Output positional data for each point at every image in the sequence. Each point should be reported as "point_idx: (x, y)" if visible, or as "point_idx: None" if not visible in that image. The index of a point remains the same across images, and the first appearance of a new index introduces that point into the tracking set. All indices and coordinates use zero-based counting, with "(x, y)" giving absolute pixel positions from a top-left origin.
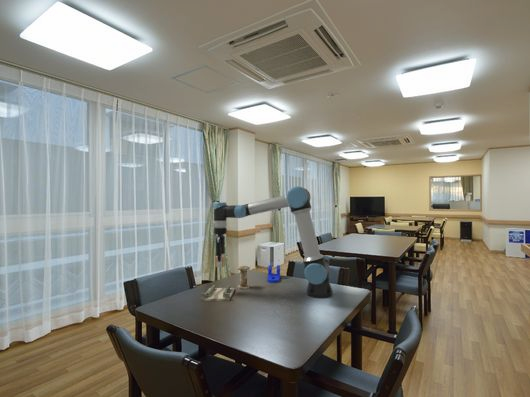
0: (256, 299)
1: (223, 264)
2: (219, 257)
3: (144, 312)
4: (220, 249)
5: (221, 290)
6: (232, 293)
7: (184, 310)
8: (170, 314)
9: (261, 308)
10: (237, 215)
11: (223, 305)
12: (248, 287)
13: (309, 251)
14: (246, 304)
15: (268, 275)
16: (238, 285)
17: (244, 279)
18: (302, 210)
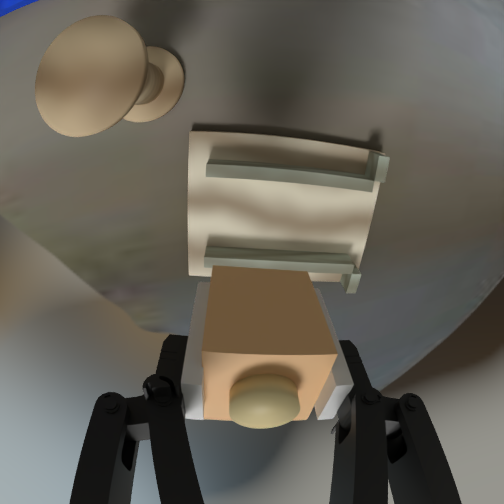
0: (370, 20)
1: (309, 286)
2: (364, 382)
3: (395, 379)
4: (435, 462)
5: (239, 206)
6: (284, 136)
7: (424, 303)
8: (435, 326)
9: (463, 36)
10: None
11: (425, 177)
12: (167, 51)
13: None
14: (428, 78)
15: (1, 7)
16: (130, 119)
17: (149, 69)
18: None
